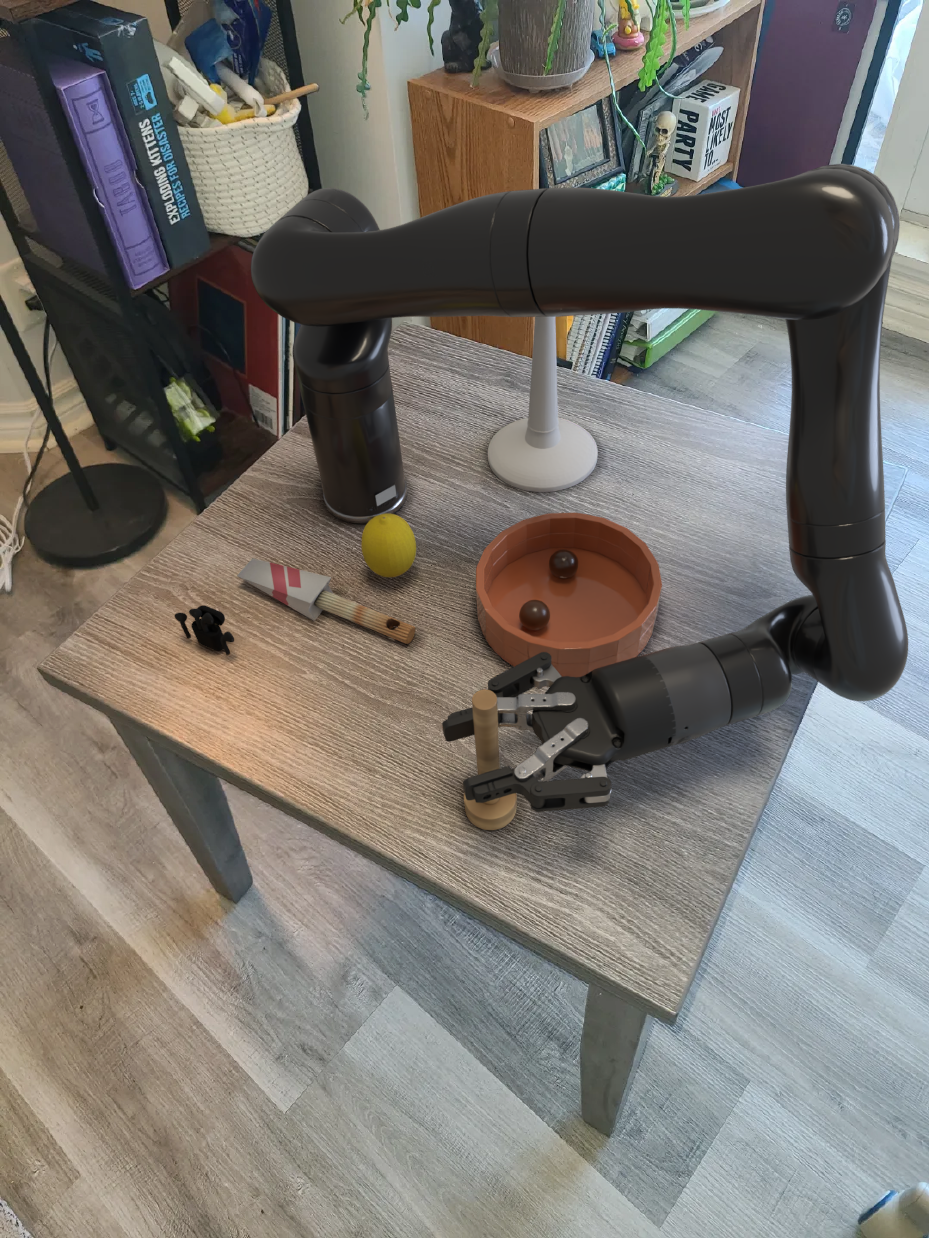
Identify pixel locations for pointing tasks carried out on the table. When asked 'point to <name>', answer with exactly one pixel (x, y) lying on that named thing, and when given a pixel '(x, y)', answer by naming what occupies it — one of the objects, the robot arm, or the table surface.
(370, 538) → the lemon
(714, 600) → the table surface
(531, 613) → the bead
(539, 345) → the candlestick
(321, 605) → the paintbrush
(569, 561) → the bead
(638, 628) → the bowl
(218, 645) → the wireless earbuds
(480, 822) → the wooden peg stand
